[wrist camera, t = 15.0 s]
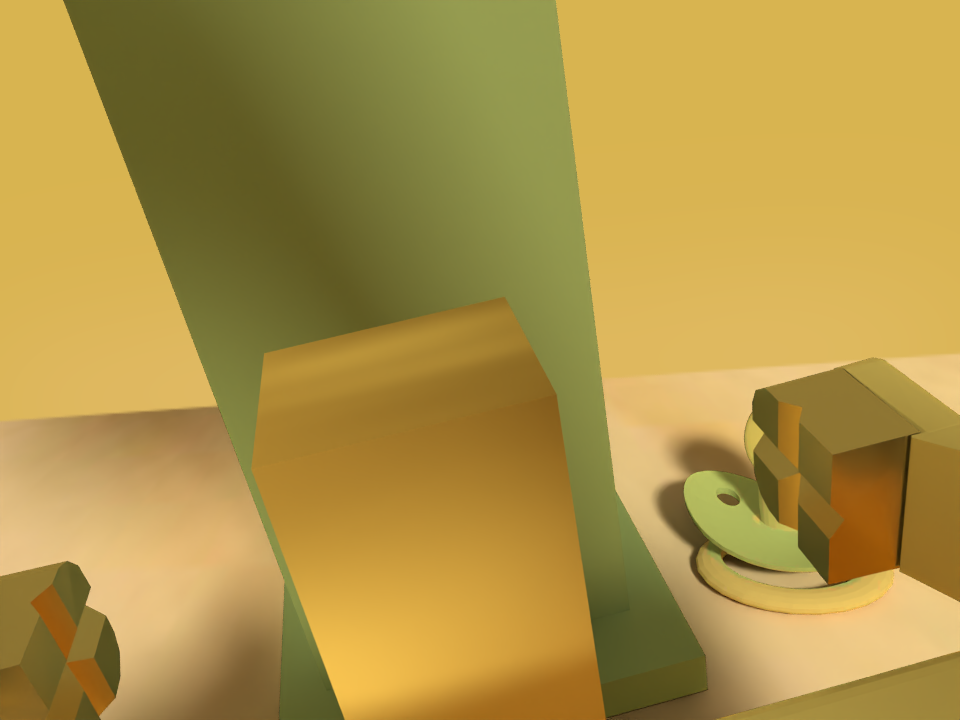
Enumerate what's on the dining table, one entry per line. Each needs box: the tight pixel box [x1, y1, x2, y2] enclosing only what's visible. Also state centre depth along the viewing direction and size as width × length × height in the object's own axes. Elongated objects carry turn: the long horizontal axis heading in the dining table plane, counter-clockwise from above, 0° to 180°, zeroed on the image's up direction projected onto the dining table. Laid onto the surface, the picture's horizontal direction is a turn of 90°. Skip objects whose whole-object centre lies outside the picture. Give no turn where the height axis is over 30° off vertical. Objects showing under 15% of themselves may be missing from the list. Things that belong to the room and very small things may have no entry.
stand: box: [63, 0, 708, 720], centre depth 26 cm, size 15×16×26 cm
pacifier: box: [684, 413, 894, 615], centre depth 29 cm, size 7×6×6 cm
